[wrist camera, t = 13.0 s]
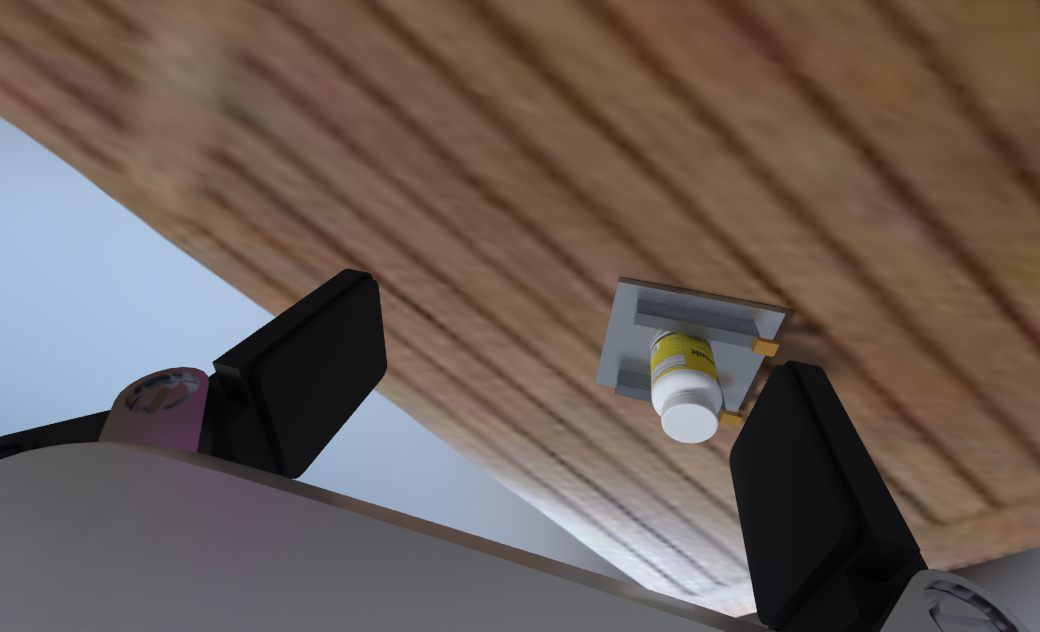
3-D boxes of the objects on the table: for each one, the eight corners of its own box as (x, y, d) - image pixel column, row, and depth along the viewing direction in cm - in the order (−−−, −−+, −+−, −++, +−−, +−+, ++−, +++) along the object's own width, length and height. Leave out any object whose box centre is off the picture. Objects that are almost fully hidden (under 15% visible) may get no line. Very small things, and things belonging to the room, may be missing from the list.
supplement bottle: (722, 361, 40) (741, 440, 32) (666, 380, 42) (671, 458, 34) (695, 317, 38) (708, 387, 30) (640, 339, 41) (638, 410, 33)
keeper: (782, 307, 37) (796, 333, 33) (733, 408, 43) (740, 438, 40) (619, 277, 39) (615, 298, 36) (595, 376, 46) (591, 402, 42)
